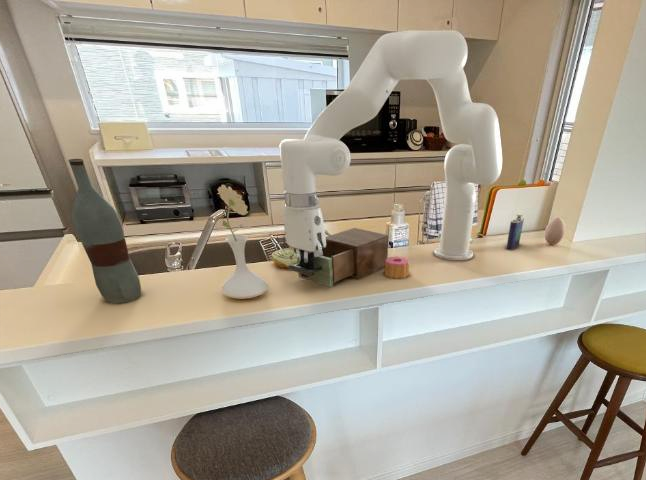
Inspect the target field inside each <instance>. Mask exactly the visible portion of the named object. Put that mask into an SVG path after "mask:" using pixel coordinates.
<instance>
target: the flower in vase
mask: <svg viewBox="0 0 646 480" xmlns="http://www.w3.org/2000/svg"><path fill="white" fill-rule="evenodd" d="M217 191H218V194H219V197H220V199H221V200H222V201H224V203H225V204H226V205H227V213H226V215H227V216H226V220H224V219H222V224H221V225H222V226H223V227H226V228H227V229H228V230H230V232H231V236H228V237H226V238H225V242H226V243H228V245H229V246H230V248H231V250H232V252H233V256H234V259H235V265H236V266H235V271H234V272H233V273H232V274H231V275H230V276H229V277H228V278H226V280H225V281H224V282H223V283H222V285H221V289H220V291H221V293H223V295H224V296H226V297H228V298H232V299H238V300H239V299H241V300H243V299H244V300H246V299H252V298H257V297H259V296H262V295H264V294H265V293H266V292H267V291H268V289H269V284H268V283H267V281H266V280H265V279H263V277H261V276H259V275H258V274H256V273H254V272H252V270H250V269H249V268H248V266H247V263H246V257H245V249H246V248H245V247H246V243H247V241H248V239H249V238H248V237H247V236H244V235H235V232H236V231H238V230H239V229H240V228H242V227H243V224H242V223H241V224H240V225H239V226H237V227H236V228H235V229H232V227H231V225H230V222H229V216H230V210H232V211H233V212H236V213H237V214H238V215H241V216H246V215H247V214H249V211H248V208H249V207H248V205H246V204H245V203H246V202H245V200H243V196H242V195H241V194H238V193H237V191H236V190H233V189H232V187H231V186H226V184H221V186H218V188H217Z"/></svg>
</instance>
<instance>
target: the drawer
mask: <svg viewBox="0 0 646 480" xmlns="http://www.w3.org/2000/svg"><path fill="white" fill-rule="evenodd" d="M322 252H323V255H322V256H320V257H315V260H313V268H314V269H312V270H309V269H306V268H302V267H300V261H299V260H298V259H297V264H296V265H292V264H290V265H289V267H288V268H287V269H288V270H289V271H292V272H296V273H298V275H297V276H298V278H299V279H303V280H306V281H310V282H313V283H316V284H320V285H322V286H325V287H329V288H331V287H333V286H334V283H336V282H339V281H341V280H343V279H346V278H349V277H348V276H351V275H353V274H355V249H354V248H350V247H346V246H341V245H337V244H333V243H329V242H327V243H326V247H325V248H322ZM313 272H314V275H312V273H313ZM301 273H302V274H305V275H308V276H309V277H307V278H306V277H303V276H301ZM311 275H312V276H311Z"/></svg>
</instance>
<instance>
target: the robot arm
mask: <svg viewBox="0 0 646 480" xmlns="http://www.w3.org/2000/svg"><path fill="white" fill-rule="evenodd" d="M468 48H469V47H468V43H467V41H466V38H465V37H464V36H463V34H462V33H460V32H459V31H457V30H456V29H455V30H454V29H448V30H447V29H443V30H441V29H440V30H420V29H419V30H418V29H417V30H416V29H412V30H411V29H409V30H401V31H393V32H388V33H385V34H383V35H382V36H380V37H379V38H378V39H377V40H376V42H375V43H374V44H373V46H372V47H371V49H370V50H369V52H368V54H367V55H366V57H365V59H364V60H363V62H362V63H361V65H360V67H359V68H358V69H357V71H356V73H355V75H354V76H353V77H352V79H351V80H350V82H349V84H348V85H347V86H346V88H345V89H344V90H343V91H342V92H341V93H340V94H338V95H337V96H336V97H335V98H334V99H333V100H332V101H331V102H330V103H329V104H328V105H327V106H326V107H325V108H324V109H323V110H322V111H321V112H320V113H319V114H318V116H317V117H316V118H315V120H314V121H313V123H312V124H311V126H310V127H309V129H308V130H307V131H306V134H305V136H304V138H287V139H283V140H282V141H280V144H279V155H280V165H281V174H282V184H283V193H284V195H283V196H284V202H285V203H284V209H283V224H284V225H283V227H284V238H285V242H286V245H287V246H288V248H289V249H291V250H292V251H294V252H295V253H296V255H297V259H298V260H299V261H300V267H302V268H306V269H309V270H312V269H314V268H313V260H315V257H320V256H322V255H323V252H322V248H325V247H326V237H327V236H326V229H325V222H324V216H323V212H322V208H321V207H320V206H319V205H318V204H319V203H320V197H318V191H317V188H318V187H317V175H318V176H319V175H320V176H321V175H322V176H335V177H336V176H339V175H342V174H344V173H345V172H346V171H348V169H349V167H350V165H351V160H352V155H351V151H350V149H349V147H348V146H347V145H346V144H345V143H344V142H343V141H342V140H341V139H342V137H344V136H345V135H346V134H347V133H349V132H350V131H351V130H353V129H355V128H357V127H359V126H362V125H364V124H366V123H368V122H370V121H371V120H374V118H376V117H377V116H378V114H379V112H380V111H381V109H382V108H383V106H384V105H385V103H386V101H387V100H388V98H389V97H390V95H391V93H392V92H393V91H394V89H395V88H396V86H397V85H398V83H399V82H400V81H408V80H409V81H410V80H425V81H427V83H428V84H429V85H430V86H431V88H432V91H433V93H434V96H435V100H436V105H437V109H438V115H439V119H440V125H441V129H442V134H443V136H444V138H445V139H446V140H447V142H450V143H453V144H455V145H454V146H452V147H451V148H450V149H448V151H447V153H446V155H445V158H444V166H443V167H444V181H445V182H444V184H445V186H444V187H445V188H444V200H443V209H442V210H443V211H442V218H441V219H442V220H441V228H440V229H441V230H440V239H439V246H438V247H435V248H434V251H433V252H434V253H433V254H434V256H436V257H437V258H440V259H443V260H449V261H467V260H470V259H472V258H473V257H474V251H473V250H472V249H470V245H471V244H473V243H474V239H473V238H472V231H473V224H474V217H475V208H476V201H477V191H476V186H475V185H479V186H490V185H492V184H494V183H496V182H497V180H498V179H499V178H500V176H501V173H502V169H503V151H502V141H501V131H500V130H501V129H500V122H499V117H498V115H497V113H496V111H495V109H494V108H493V107H492V105H489V104H488V103H484V102H473V100H472V98H471V94H470V90H469V84H468V78H467V76H466V73H465V70H464V67H465V65H466V63H467V60H468V56H469V55H468V54H469V50H468ZM312 275H314V272H313V273H312ZM312 275H311V276H312ZM301 276H303V277H306V278H307V277H309V276H308V275H305V274H302V273H301Z"/></svg>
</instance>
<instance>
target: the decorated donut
mask: <svg viewBox="0 0 646 480" xmlns="http://www.w3.org/2000/svg"><path fill="white" fill-rule="evenodd" d="M271 260H272V261H273V263H274V265H275V266H277V267H278V268H281V269H289V268H288V267H289V265H290V264H292V265H296V264H297V255H296V253H295V252H294V251H292V250H291V249H289V247H288V248H281V249H278V250H276V251H274V252H272V253H271Z"/></svg>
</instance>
